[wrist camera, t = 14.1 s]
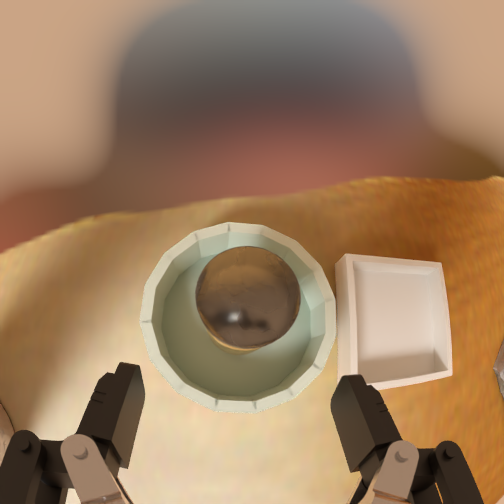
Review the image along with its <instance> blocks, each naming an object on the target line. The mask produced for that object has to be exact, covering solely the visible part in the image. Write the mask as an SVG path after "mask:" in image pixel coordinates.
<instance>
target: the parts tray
mask: <svg viewBox="0 0 504 504" xmlns="http://www.w3.org/2000/svg"><path fill="white" fill-rule="evenodd" d="M335 278H336V297H337V329H338V377H337V386H338V383H339V381H340V379H341V377H342V376H343V375H354V374H361V375H362V376H363V378H364V380H365V382H366V384H367V385H372V386H373V387H374V388H375V389H376V390H380V389H387V388H394V387H400V386H406V385H411V384H416V383H421V382H426V381H431V380H435V379H440V378H444V377H448V376H452V346H451V331H450V319H449V310H448V302H447V294H446V287H445V281H444V275H443V269H442V264H441V263H440V262H430V261H420V260H410V259H399V258H389V257H378V256H368V255H357V254H346V253H345V254H344V256H343V257H342V258H341V259H340V260H339V261H338V262H337V263H336V264H335Z"/></svg>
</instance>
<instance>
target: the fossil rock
mask: <svg viewBox="0 0 504 504" xmlns="http://www.w3.org/2000/svg"><path fill="white" fill-rule="evenodd" d="M493 369H494V371H495V374H496V376H497V380H498V384H499V388H500V392H501V394H502V396H503V398H504V340H503V342H502V345H501V348H500V351H499V353H498V356H497V359H496V361H495V364H494V367H493Z"/></svg>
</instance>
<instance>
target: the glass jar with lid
mask: <svg viewBox="0 0 504 504" xmlns="http://www.w3.org/2000/svg"><path fill="white" fill-rule="evenodd" d="M195 300H196V307H197V311H198V313H199V316H200V318H201V321H202V322H203V324H204V326H205V328H206V330H207V333H208V335H209V337H210V339H211V341H212V342H213V343H214V344H215V345H216V346H217V347H218V348H219V349H220V350H222V351H224V352H226V353H229V354H232V355H246V354H249V353H252V352H254V351H256V350H258V349H260V348H262V347H264V346H267V345H269V344H271V343H273V342H275V341H277V340H278V339H280V338H281V337H282V336H284V335H285V334H286V333H287V332H288V331H289V330H290V328H291V327H292V325H293V324H294V322H295V320H296V318H297V316H298V313H299V310H300V304H301V292H300V287H299V283H298V280H297V278H296V276H295V274H294V272H293V271H292V269H291V268H290V266H289V265H288V264H287V263H286V262H285V261H284V260H283V259H282V258H281V257H279V256H278V255H276V254H275V253H273V252H271V251H269V250H266V249H263V248H260V247H254V246H239V247H234V248H230V249H228V250H225V251H223V252H221V253H219V254H218V255H216V256H215V257H214V258H212V259H211V260H210V261H209V262H208V263H207V265H206V266H205V267H204V269H203V270H202V272H201V274H200V276H199V278H198V281H197V285H196V290H195Z"/></svg>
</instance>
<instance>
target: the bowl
mask: <svg viewBox="0 0 504 504" xmlns="http://www.w3.org/2000/svg"><path fill="white" fill-rule="evenodd" d="M239 246H254V247H260V248H263V249H266V250H269V251H271V252H273V253H275V254H276V255H278V256H279V257H281V258H282V259H283V260H284V261H285V262H286V263H287V264H288V265H289V266H290V268H291V269H292V271H293V272H294V274H295V276H296V278H297V280H298V283H299V287H300V292H301V304H300V310H299V313H298V316H297V318H296V320H295V322H294V324H293V325H292V327H291V328H290V330H289V331H288V332H287V333H286V334H285V335H284V336H282V337H281V338H280V339H278V340H277V341H275V342H273V343H271V344H269V345H267V346H264V347H262V348H260V349H258V350H256V351H254V352H252V353H249V354H246V355H232V354H229V353H226V352H224V351H222V350H220V349H219V348H218V347H217V346H216V345H215V344H214V343H213V342H212V341H211V339H210V337H209V335H208V333H207V330H206V328H205V326H204V324H203V322H202V321H201V318H200V316H199V313H198V311H197V307H196V300H195V290H196V285H197V281H198V278H199V276H200V274H201V272H202V270H203V269H204V267H205V266H206V265H207V263H208V262H209V261H210V260H211V259H212V258H214V257H215V256H216V255H218V254H219V253H221V252H223V251H225V250H228V249H230V248H234V247H239ZM140 326H141V330H142V334H143V337H144V341H145V345H146V348H147V352H148V355H149V358H150V361H151V362H152V363H153V365H154V366H155V367H156V368H157V370H158V371H159V372H160V373H161V375H162V376H163V377H164V378H165V379H166V381H167V382H168V383H169V384H170V385H171V387H172V388H173V389H174V390H175V391H176V392H177V393H179V394H180V395H182V396H184V397H186V398H188V399H190V400H192V401H194V402H196V403H198V404H200V405H202V406H204V407H206V408H208V409H210V410H213V411H217V412H234V413H259V412H261V411H264V410H267V409H269V408H272V407H275V406H277V405H280V404H282V403H285V402H287V401H290V400H292V399H294V398H296V397H297V396H298V395H299V394H300V393H301V392H302V391H303V390H304V389H305V388H306V387H307V386H308V385H309V384H310V383H311V382H312V381H313V380H314V379H315V378H316V377H317V376H318V375H319V374H320V373H321V372H322V370H323V368H324V366H325V363H326V361H327V358H328V356H329V353H330V351H331V348H332V346H333V343H334V340H335V338H336V302H335V297H334V294H333V292H332V290H331V287H330V285H329V283H328V280H327V278H326V276H325V274H324V271H323V269H322V267H321V265H320V264H319V263H318V262H317V261H316V260H315V259H314V258H313V257H312V256H311V255H310V254H309V253H308V252H307V251H306V250H305V249H304V248H303V247H302V246H301V245H300V244H299V243H298V242H297V241H296V240H294V239H292V238H290V237H288V236H286V235H284V234H282V233H279V232H277V231H275V230H273V229H271V228H269V227H267V226H263V225H257V224H246V223H235V222H226V223H222V224H218V225H215V226H211V227H207V228H204V229H200V230H196V231H194V232H192V233H190V234H189V235H188V236H186V237H185V238H184V239H182V240H181V241H179V242H178V243H177V244H175V245H174V246H173V247H171V248H170V249H169V250H167V251H166V252H165V253H164V254H163V256H162V257H161V259H160V260H159V262H158V264H157V265H156V267H155V268H154V270H153V272H152V273H151V275H150V277H149V278H148V280H147V282H146V283H145V287H144V294H143V300H142V307H141V314H140Z"/></svg>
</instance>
